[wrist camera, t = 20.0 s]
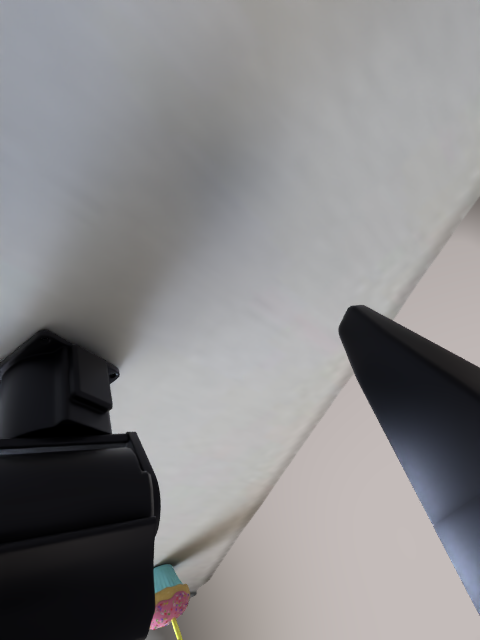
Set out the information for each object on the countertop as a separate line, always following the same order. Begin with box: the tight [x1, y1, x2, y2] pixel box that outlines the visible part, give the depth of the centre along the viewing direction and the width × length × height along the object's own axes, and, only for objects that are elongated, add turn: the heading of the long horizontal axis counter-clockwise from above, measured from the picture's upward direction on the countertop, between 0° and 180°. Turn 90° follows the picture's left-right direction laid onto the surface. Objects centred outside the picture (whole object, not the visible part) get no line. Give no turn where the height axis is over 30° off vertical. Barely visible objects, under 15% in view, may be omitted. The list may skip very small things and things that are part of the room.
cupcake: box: [149, 564, 190, 640], centre depth 53 cm, size 9×8×12 cm
